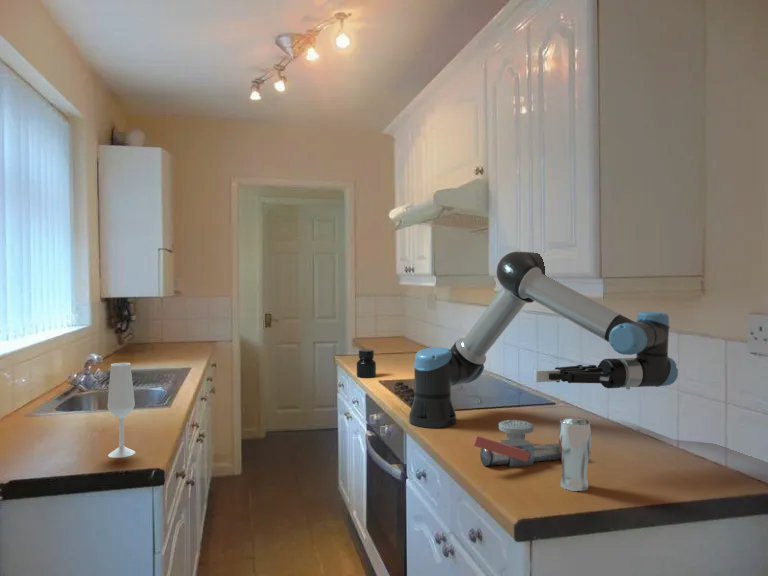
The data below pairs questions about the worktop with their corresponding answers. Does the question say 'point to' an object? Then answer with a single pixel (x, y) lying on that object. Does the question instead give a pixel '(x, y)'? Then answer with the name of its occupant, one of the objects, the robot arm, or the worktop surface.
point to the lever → (502, 448)
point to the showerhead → (515, 428)
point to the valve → (536, 451)
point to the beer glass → (574, 452)
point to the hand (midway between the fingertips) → (535, 376)
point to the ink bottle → (366, 364)
